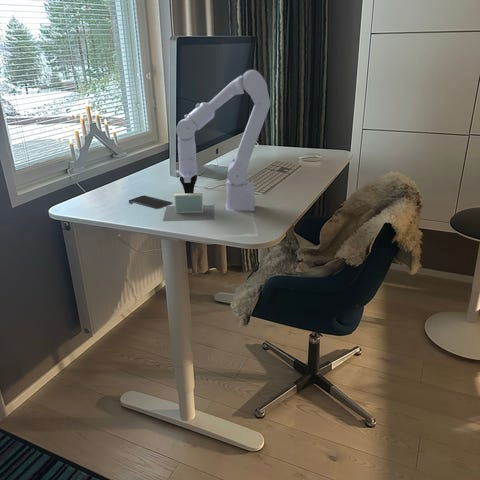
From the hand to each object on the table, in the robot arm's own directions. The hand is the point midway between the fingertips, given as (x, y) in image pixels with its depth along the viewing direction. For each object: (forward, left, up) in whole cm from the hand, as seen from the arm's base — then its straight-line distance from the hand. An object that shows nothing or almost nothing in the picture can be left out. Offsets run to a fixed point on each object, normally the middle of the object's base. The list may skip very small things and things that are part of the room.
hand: (189, 197), depth 152 cm
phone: (+14, -6, -4) cm, 16 cm away
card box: (0, +5, -3) cm, 6 cm away
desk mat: (0, +6, -4) cm, 7 cm away
